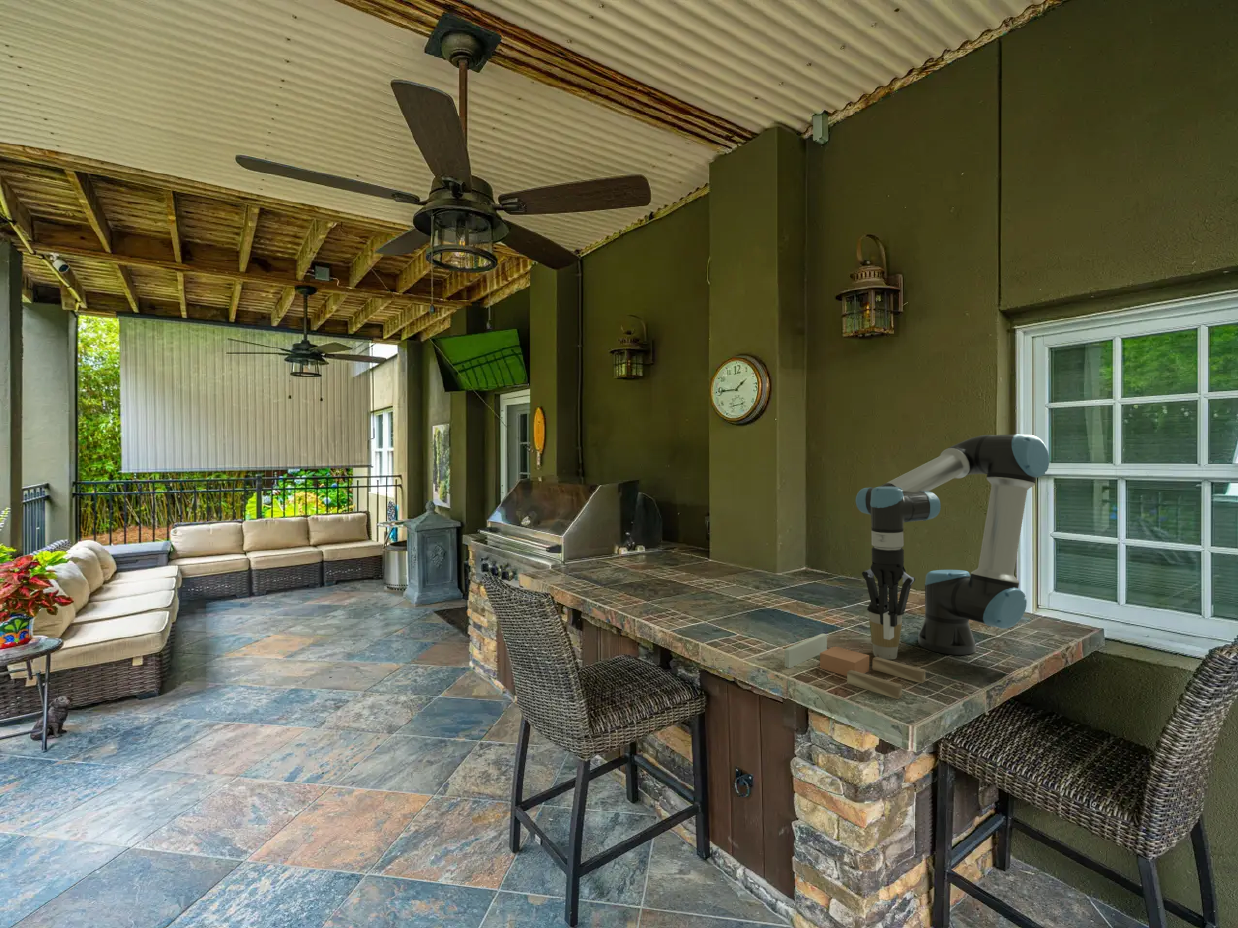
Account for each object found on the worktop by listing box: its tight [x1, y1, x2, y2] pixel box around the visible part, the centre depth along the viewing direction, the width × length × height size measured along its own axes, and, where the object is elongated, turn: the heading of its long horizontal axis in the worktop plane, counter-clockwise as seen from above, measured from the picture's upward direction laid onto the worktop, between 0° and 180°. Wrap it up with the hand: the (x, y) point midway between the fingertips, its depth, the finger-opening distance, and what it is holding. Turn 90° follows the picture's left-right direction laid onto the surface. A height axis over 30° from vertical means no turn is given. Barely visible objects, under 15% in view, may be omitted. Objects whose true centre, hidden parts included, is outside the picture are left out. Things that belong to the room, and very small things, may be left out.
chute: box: [846, 656, 926, 700], centre depth 155 cm, size 16×13×3 cm
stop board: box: [784, 632, 828, 669], centre depth 172 cm, size 20×1×5 cm, turn 132°
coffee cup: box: [866, 600, 905, 660], centre depth 174 cm, size 10×10×15 cm
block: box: [819, 645, 870, 677], centre depth 164 cm, size 8×10×4 cm
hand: (888, 637), depth 155 cm, fingers closed
